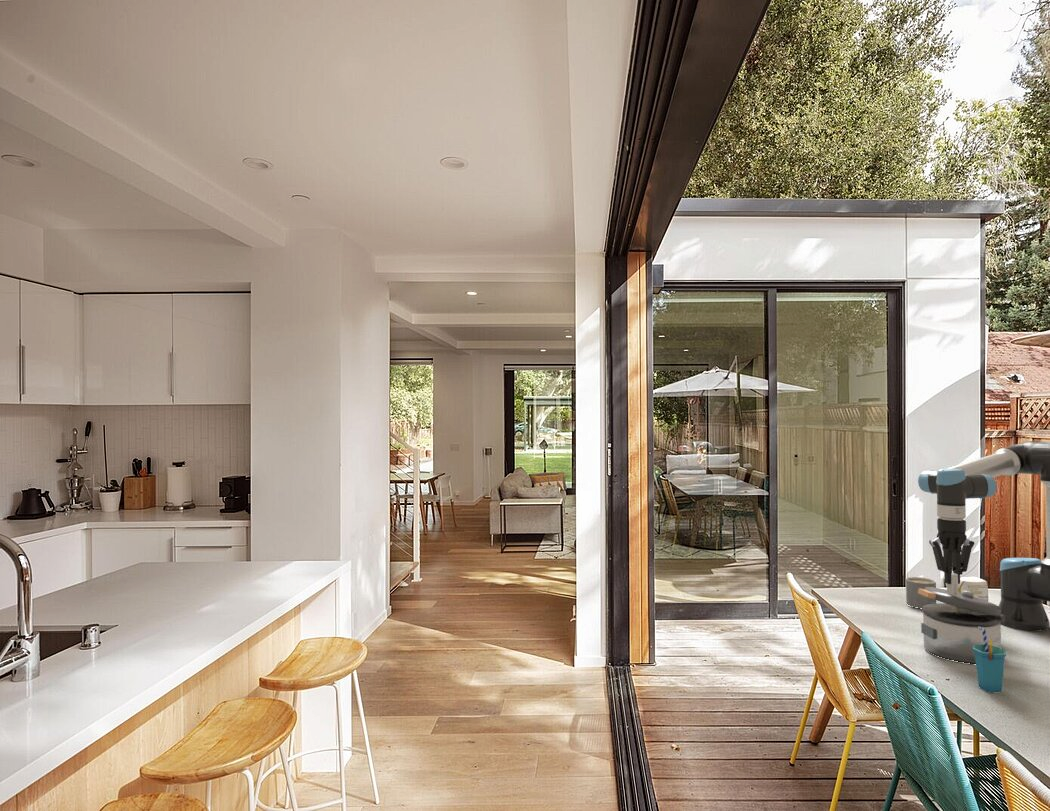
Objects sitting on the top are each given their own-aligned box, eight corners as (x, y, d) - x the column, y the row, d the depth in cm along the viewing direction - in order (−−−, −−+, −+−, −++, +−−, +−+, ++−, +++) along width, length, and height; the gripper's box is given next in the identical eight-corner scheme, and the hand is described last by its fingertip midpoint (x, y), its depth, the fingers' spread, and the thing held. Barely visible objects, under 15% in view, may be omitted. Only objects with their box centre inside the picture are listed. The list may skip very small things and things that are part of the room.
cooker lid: (971, 601, 211) (973, 590, 211) (1016, 620, 191) (1019, 608, 191) (904, 587, 211) (906, 576, 211) (942, 605, 191) (945, 593, 191)
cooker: (976, 641, 211) (975, 603, 211) (1024, 665, 190) (1022, 623, 190) (908, 642, 211) (907, 603, 211) (949, 666, 190) (947, 624, 191)
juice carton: (992, 639, 212) (991, 581, 213) (965, 639, 213) (964, 581, 213) (977, 631, 220) (976, 575, 220) (951, 631, 220) (950, 575, 221)
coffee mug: (937, 611, 243) (936, 584, 243) (906, 607, 248) (905, 581, 248) (935, 602, 255) (934, 576, 255) (906, 598, 260) (905, 574, 260)
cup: (964, 675, 184) (963, 623, 184) (997, 679, 181) (995, 625, 181) (980, 696, 171) (979, 639, 171) (1015, 700, 168) (1014, 642, 168)
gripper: (937, 520, 198) (938, 597, 197) (981, 520, 198) (982, 597, 197) (922, 516, 205) (923, 591, 205) (964, 516, 205) (965, 591, 205)
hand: (952, 594), depth 201 cm, fingers closed
